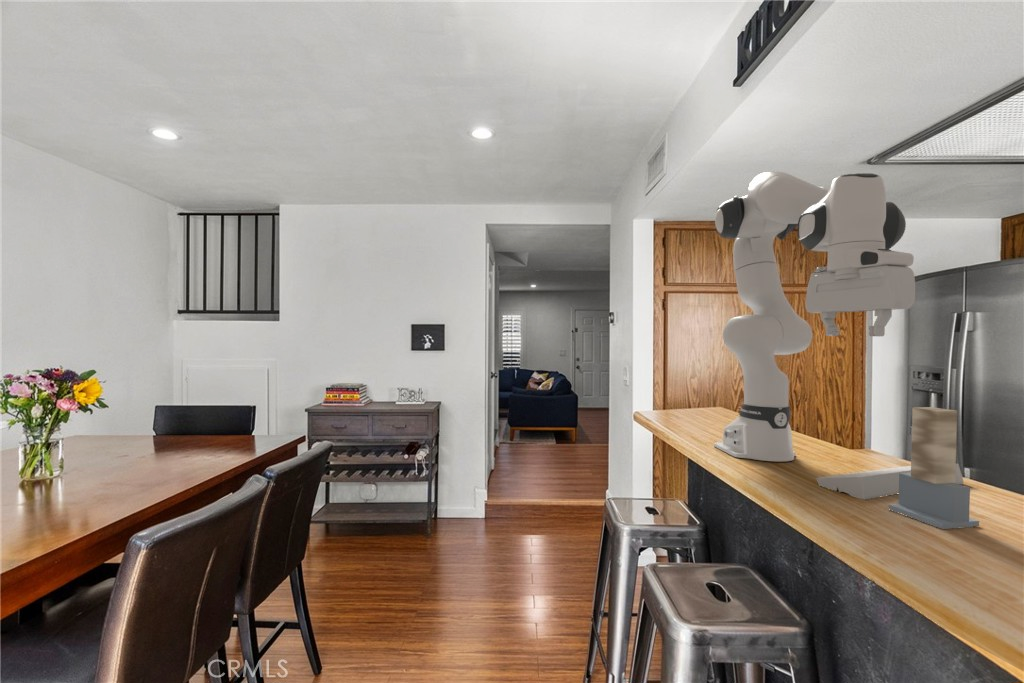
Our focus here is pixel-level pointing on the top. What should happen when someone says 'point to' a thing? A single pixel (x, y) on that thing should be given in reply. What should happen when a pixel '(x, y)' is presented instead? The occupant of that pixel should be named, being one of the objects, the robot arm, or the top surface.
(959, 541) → the top surface
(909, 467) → the decorative molding
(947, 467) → the ash post
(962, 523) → the ridge block
